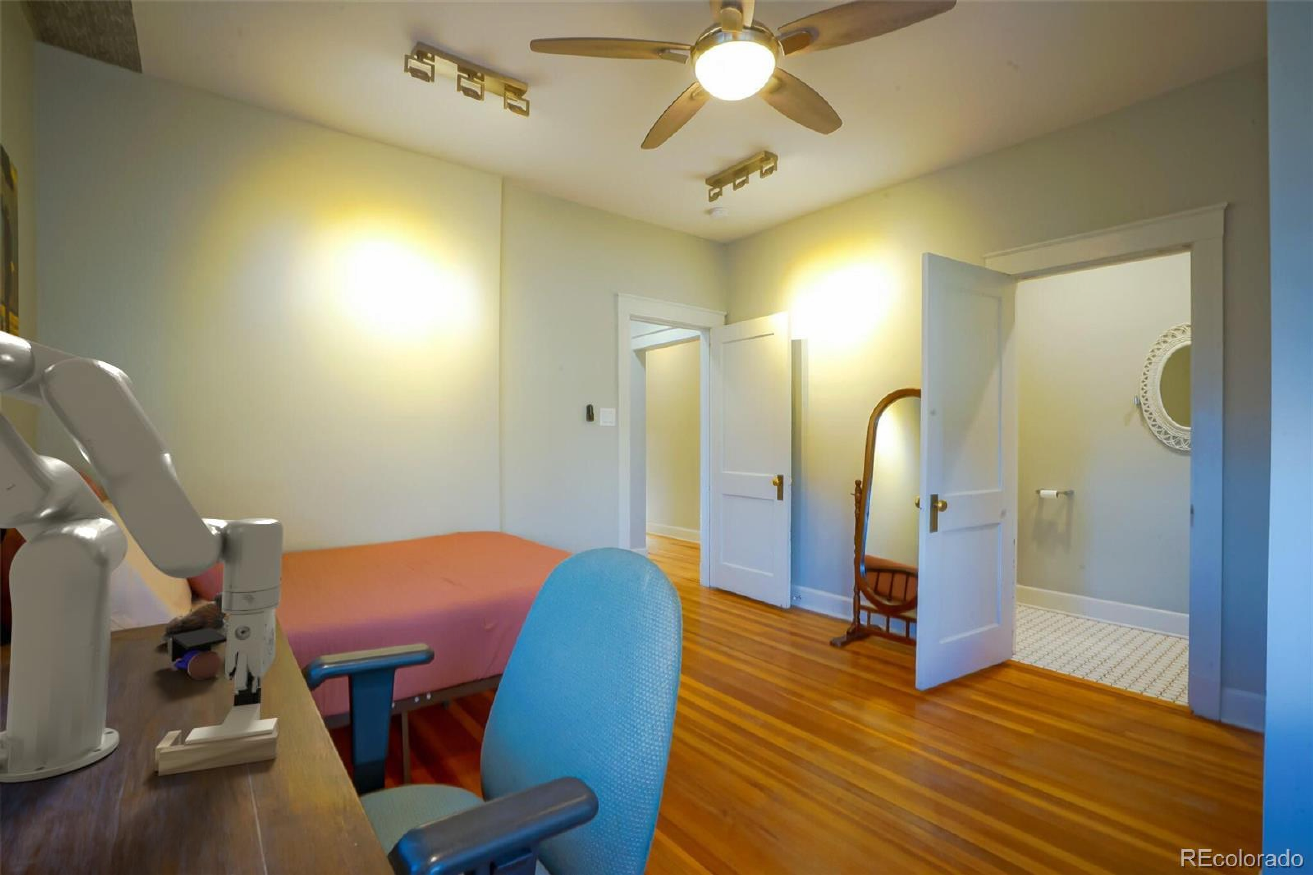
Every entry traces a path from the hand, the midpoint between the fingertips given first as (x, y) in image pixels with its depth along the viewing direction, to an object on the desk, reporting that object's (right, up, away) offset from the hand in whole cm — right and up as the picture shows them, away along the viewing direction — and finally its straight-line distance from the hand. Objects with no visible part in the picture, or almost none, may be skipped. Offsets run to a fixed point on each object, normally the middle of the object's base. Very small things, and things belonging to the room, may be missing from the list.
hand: (246, 716), depth 91 cm
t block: (+3, -1, -6) cm, 7 cm away
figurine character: (-23, -1, +19) cm, 30 cm away
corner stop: (+3, -1, -10) cm, 10 cm away
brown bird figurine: (-36, -1, +36) cm, 50 cm away
